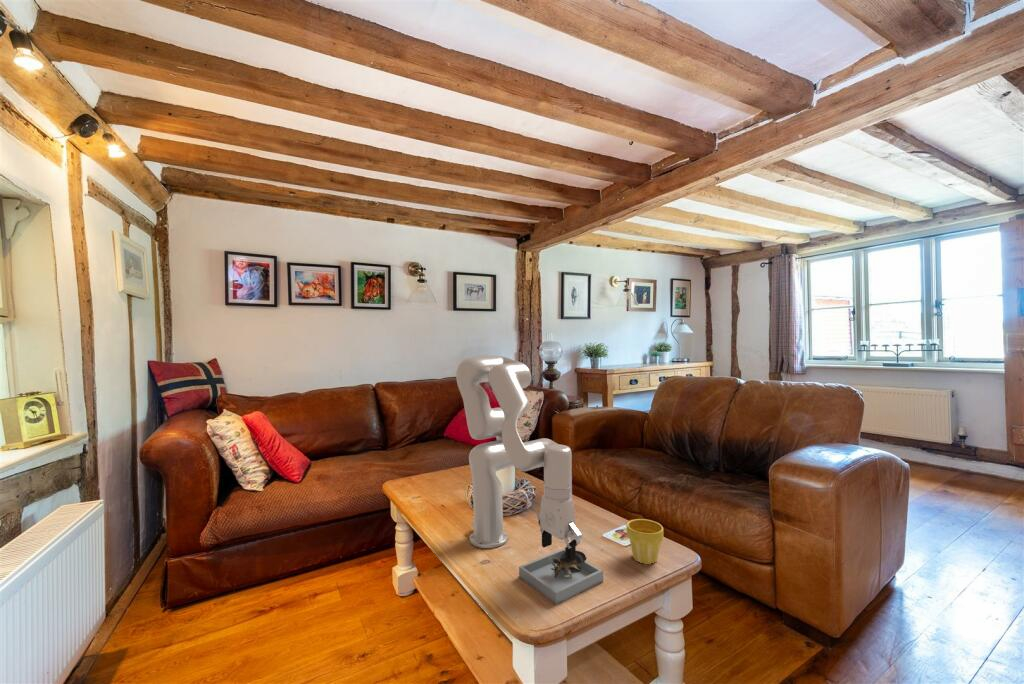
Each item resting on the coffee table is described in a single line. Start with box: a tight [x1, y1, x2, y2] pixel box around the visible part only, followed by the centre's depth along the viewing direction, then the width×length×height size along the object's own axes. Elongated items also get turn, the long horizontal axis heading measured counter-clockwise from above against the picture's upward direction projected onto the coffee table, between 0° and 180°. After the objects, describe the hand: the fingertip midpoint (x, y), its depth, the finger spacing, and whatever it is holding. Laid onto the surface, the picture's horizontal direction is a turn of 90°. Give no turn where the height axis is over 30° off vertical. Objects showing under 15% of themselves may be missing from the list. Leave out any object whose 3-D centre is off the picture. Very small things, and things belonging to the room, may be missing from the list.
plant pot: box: [626, 518, 664, 565], centre depth 128 cm, size 10×10×10 cm
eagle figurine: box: [549, 550, 588, 578], centre depth 120 cm, size 8×7×9 cm
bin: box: [518, 548, 604, 606], centre depth 119 cm, size 16×17×3 cm
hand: (558, 553), depth 119 cm, fingers open, 9 cm apart
